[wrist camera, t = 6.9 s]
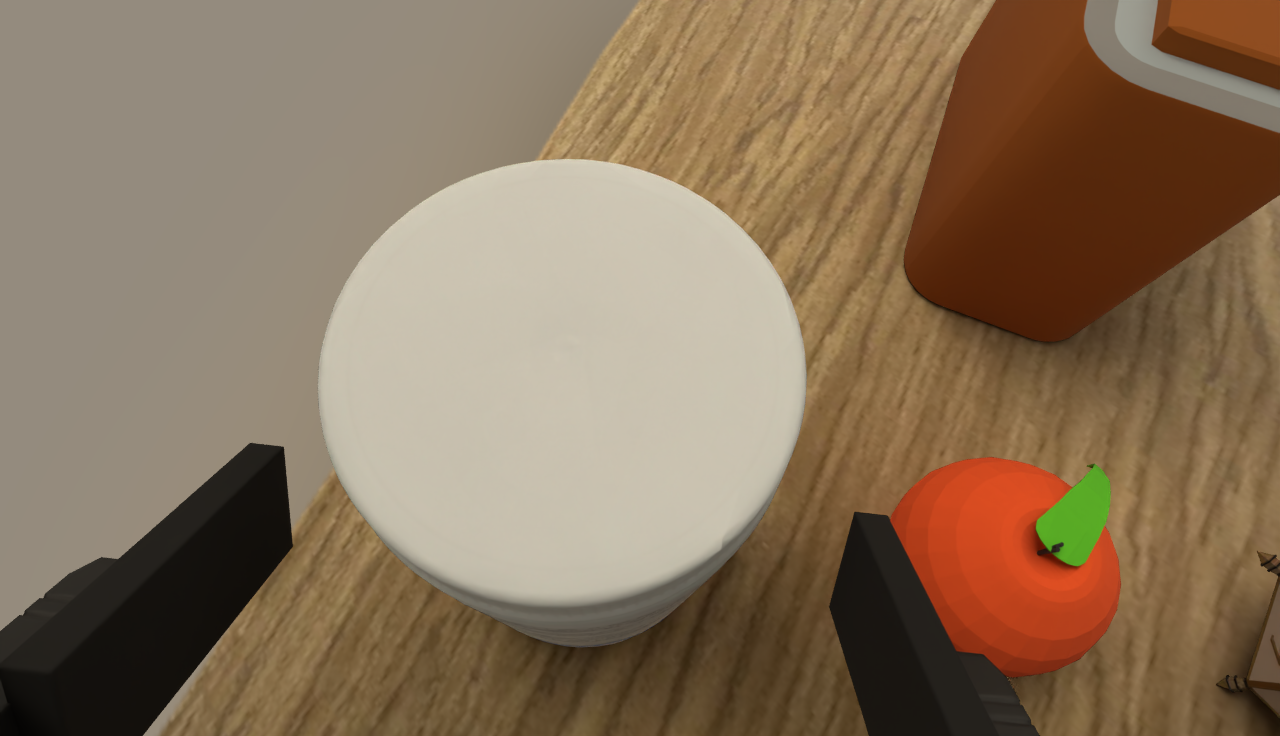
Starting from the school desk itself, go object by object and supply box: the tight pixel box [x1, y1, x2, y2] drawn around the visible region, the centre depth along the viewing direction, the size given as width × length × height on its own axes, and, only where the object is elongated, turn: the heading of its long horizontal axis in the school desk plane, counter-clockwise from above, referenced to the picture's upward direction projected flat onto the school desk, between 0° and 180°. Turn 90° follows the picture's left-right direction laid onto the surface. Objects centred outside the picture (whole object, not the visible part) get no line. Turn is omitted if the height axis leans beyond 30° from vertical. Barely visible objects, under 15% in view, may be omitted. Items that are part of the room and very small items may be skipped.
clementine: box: [890, 457, 1121, 677], centre depth 24 cm, size 8×7×7 cm
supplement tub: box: [318, 159, 807, 647], centre depth 20 cm, size 10×10×15 cm
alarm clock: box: [904, 0, 1280, 341], centre depth 27 cm, size 15×8×14 cm, turn 158°
